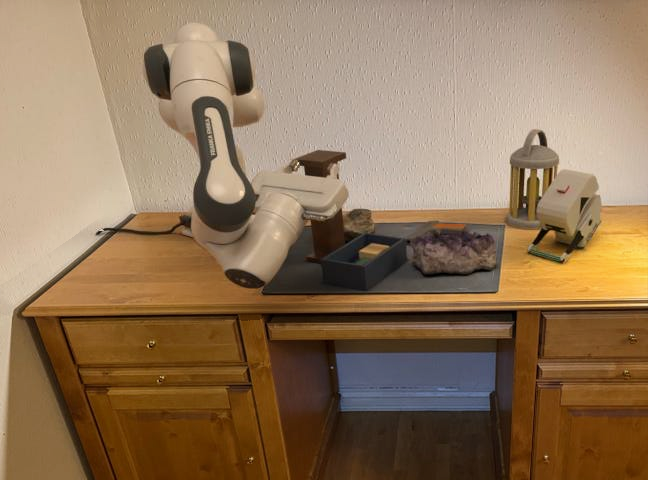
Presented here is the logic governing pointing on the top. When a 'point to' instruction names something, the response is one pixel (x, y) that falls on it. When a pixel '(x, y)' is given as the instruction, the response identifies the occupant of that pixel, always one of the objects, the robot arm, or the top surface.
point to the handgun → (436, 230)
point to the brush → (370, 252)
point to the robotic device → (569, 212)
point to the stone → (357, 223)
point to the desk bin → (348, 274)
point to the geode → (454, 253)
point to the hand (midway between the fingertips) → (315, 163)
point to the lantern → (530, 180)
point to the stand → (332, 230)
